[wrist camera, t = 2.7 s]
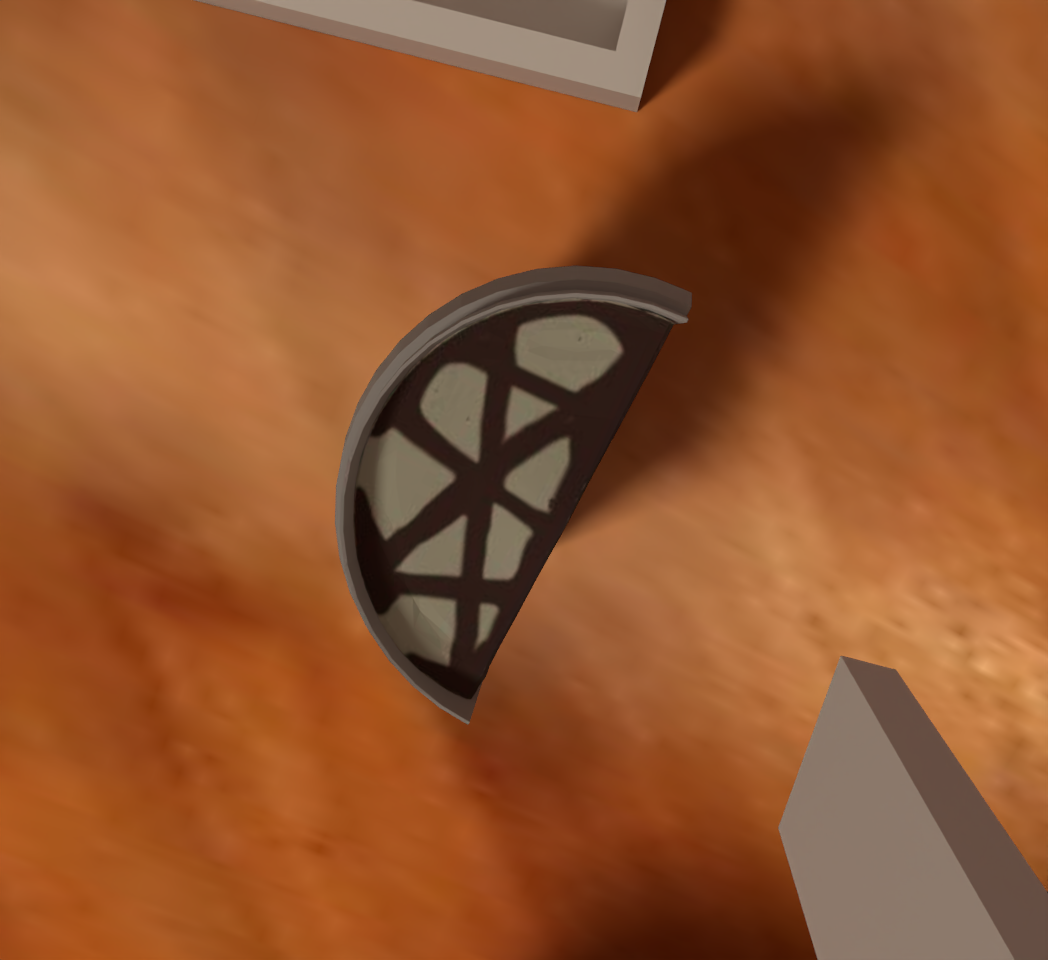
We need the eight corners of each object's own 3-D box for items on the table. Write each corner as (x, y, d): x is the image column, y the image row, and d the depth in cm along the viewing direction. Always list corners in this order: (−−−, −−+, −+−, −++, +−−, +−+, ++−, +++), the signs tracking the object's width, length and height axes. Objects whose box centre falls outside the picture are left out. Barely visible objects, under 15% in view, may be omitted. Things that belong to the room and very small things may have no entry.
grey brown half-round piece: (498, 191, 31) (450, 166, 21) (669, 280, 31) (700, 297, 21) (342, 520, 34) (237, 632, 24) (499, 599, 34) (459, 741, 24)
